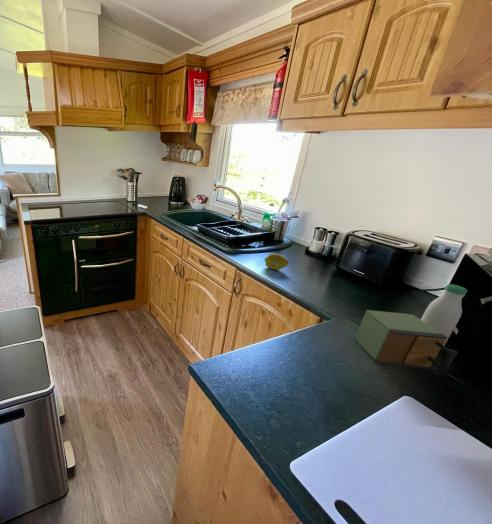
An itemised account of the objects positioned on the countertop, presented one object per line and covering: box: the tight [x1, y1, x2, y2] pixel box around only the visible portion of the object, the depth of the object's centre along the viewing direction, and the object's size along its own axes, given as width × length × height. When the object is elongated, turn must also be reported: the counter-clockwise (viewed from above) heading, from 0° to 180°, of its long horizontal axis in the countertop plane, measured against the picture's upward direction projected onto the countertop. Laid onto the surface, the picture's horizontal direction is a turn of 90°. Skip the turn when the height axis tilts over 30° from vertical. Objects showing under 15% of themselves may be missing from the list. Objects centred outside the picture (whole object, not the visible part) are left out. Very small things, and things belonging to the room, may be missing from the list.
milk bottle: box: [420, 283, 468, 346], centre depth 92 cm, size 8×8×20 cm
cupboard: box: [354, 309, 447, 370], centre depth 86 cm, size 12×14×11 cm
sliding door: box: [403, 336, 458, 375], centre depth 78 cm, size 6×7×10 cm
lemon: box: [264, 253, 289, 271], centre depth 143 cm, size 11×8×8 cm
